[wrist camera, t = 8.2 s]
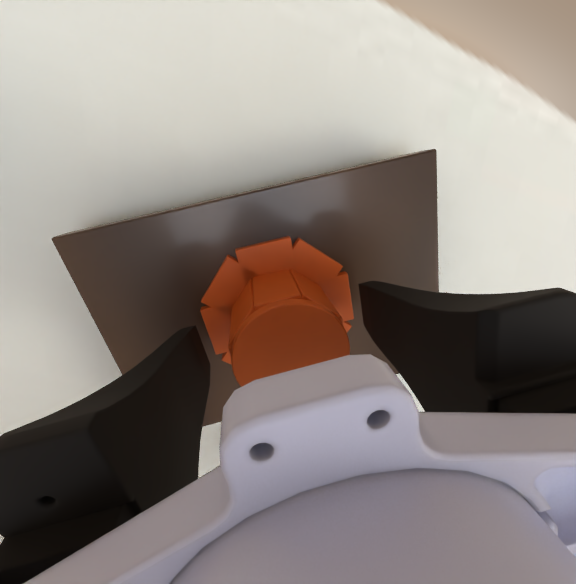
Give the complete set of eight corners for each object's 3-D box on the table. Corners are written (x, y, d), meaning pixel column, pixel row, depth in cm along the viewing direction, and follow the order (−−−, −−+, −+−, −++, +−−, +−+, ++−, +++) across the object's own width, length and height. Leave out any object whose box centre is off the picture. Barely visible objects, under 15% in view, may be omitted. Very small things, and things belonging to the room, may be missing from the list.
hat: (229, 386, 15) (225, 453, 11) (184, 260, 13) (159, 295, 9) (356, 352, 16) (392, 407, 12) (338, 223, 13) (376, 241, 9)
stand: (166, 406, 18) (155, 439, 16) (82, 227, 14) (49, 238, 12) (416, 340, 19) (440, 362, 17) (406, 152, 15) (437, 148, 12)
